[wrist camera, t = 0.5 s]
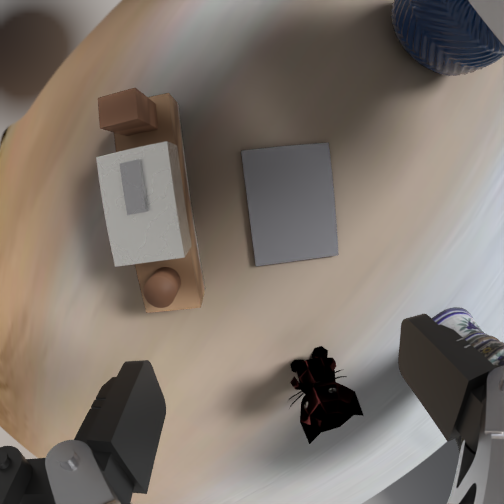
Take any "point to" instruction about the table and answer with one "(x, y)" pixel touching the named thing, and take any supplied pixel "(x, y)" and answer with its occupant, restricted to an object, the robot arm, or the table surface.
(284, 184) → the felt mat
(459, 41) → the lamp
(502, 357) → the vase
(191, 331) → the table surface
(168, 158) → the lever cap
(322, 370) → the cat figurine
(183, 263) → the plane body
